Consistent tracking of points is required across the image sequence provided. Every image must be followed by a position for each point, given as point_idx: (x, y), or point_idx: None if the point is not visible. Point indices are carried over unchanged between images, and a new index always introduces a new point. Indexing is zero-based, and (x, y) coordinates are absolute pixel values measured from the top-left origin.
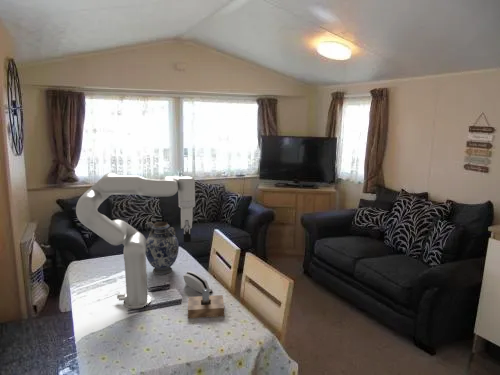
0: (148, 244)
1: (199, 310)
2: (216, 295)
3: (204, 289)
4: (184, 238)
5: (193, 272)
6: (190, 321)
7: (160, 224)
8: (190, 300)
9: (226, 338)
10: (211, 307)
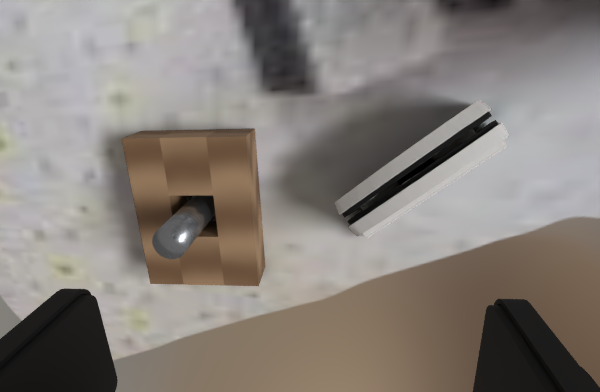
0: None
1: (133, 187)
2: (256, 262)
3: (176, 238)
4: (13, 348)
5: (447, 174)
6: (120, 141)
7: None
8: (209, 148)
9: (33, 259)
10: (150, 237)
